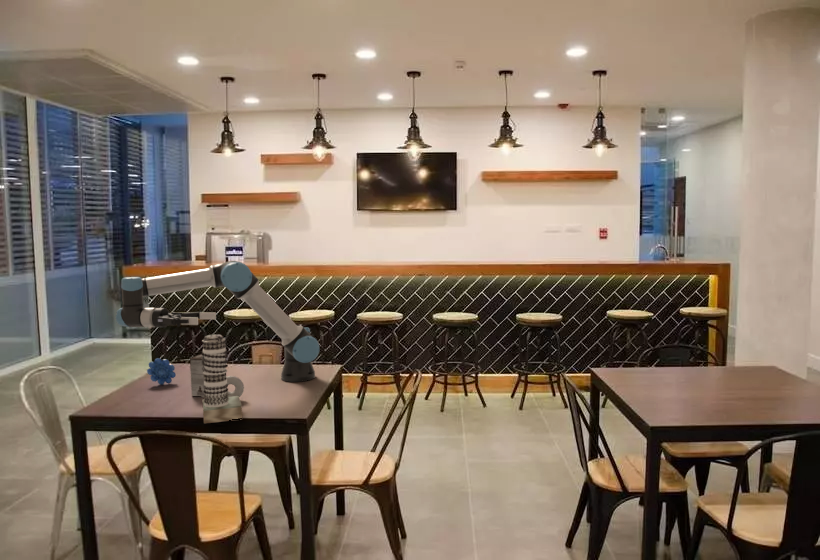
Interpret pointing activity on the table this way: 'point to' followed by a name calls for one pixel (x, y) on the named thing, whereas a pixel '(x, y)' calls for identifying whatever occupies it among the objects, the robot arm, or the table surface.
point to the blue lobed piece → (161, 371)
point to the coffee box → (197, 376)
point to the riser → (223, 411)
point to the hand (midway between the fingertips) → (206, 318)
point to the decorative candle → (215, 371)
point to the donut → (238, 386)
